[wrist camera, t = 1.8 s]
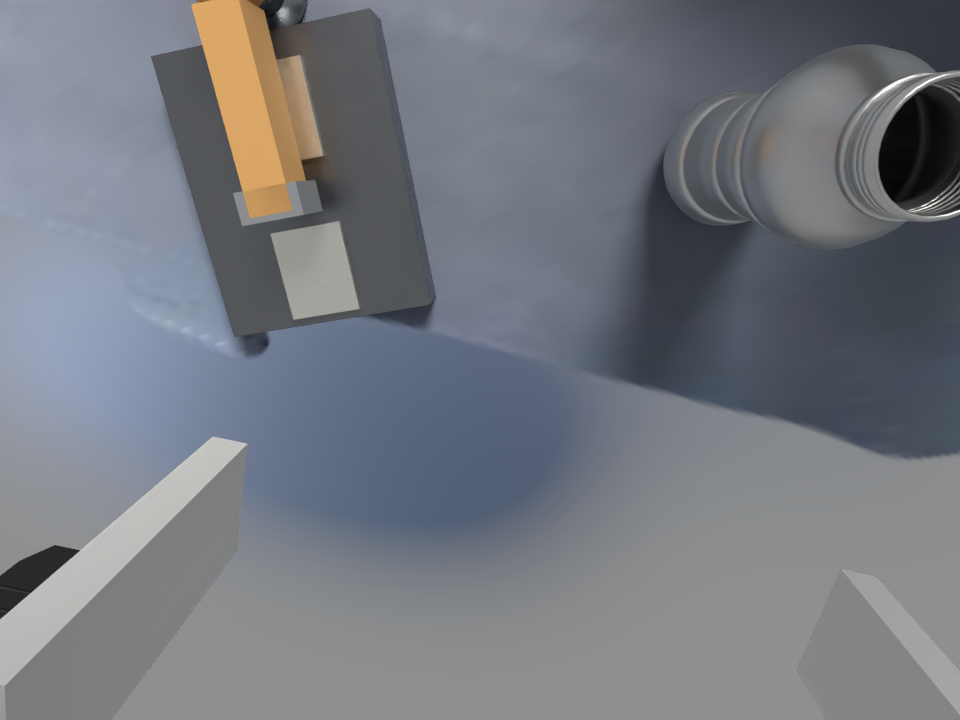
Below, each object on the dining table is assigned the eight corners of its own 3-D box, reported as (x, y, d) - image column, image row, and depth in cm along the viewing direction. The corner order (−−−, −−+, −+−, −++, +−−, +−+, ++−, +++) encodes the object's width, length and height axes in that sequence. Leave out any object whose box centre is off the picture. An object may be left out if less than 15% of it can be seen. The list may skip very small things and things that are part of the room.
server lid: (176, 64, 35) (146, 54, 32) (380, 19, 34) (367, 6, 31) (251, 326, 40) (231, 338, 37) (435, 296, 38) (429, 306, 35)
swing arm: (180, -68, 30) (143, -94, 27) (259, -87, 29) (230, -116, 26) (259, 222, 34) (234, 227, 31) (329, 209, 33) (311, 213, 30)
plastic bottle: (635, 199, 36) (766, 233, 17) (685, 78, 34) (899, -41, 15) (739, 238, 36) (985, 314, 17) (795, 120, 34) (1145, 56, 15)
